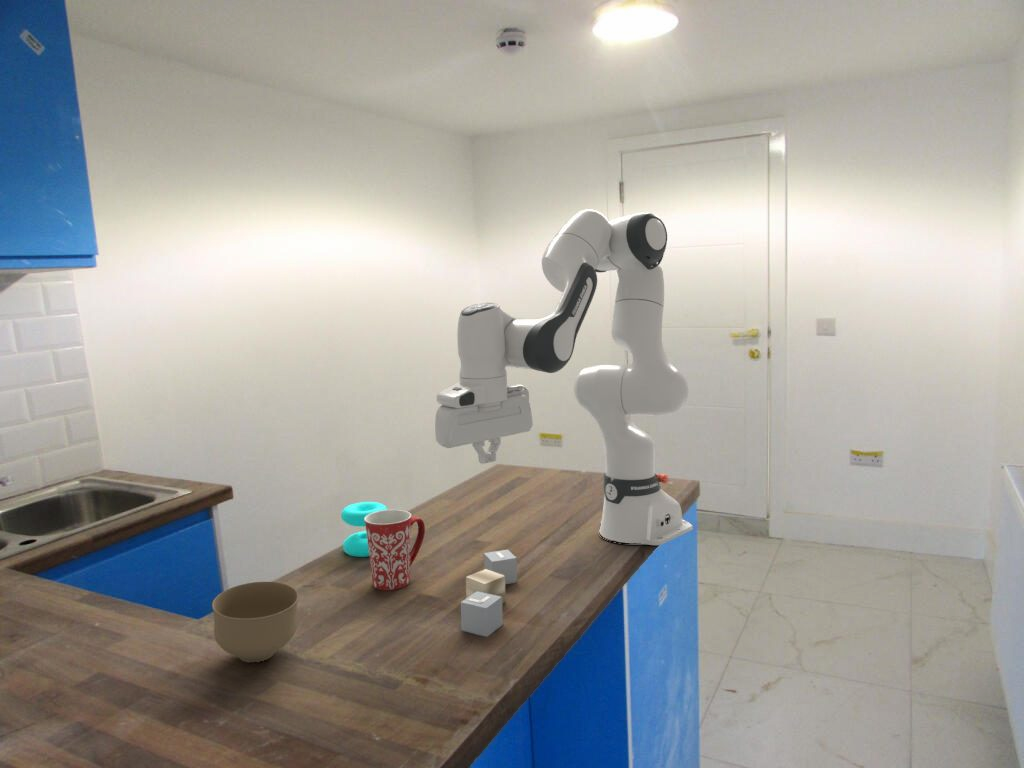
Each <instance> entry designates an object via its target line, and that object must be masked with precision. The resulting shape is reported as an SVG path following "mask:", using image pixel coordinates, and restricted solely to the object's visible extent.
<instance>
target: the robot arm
mask: <svg viewBox="0 0 1024 768" xmlns="http://www.w3.org/2000/svg"><path fill="white" fill-rule="evenodd" d="M666 228H667V227H666V225H665V223H664V221H663V220H662V219H661V217H659V216H658V215H657V214H656V213H652V212H636V213H634V214H632V215H625V216H621V217H617V218H613V219H612V220H610V221H609V219H608V218H607V217H606V216H605V215H604V214H603V213H602V212H600V211H597V210H596V209H583V210H580V211H578V212H576V214H574V215H573V216H572V217H571V218H570V219H569V220H568V221H566V222H565V224H564V225H563V226H562V227H561V228H560V229H559V230H558V232H557V233H556V234H555V235H554V237H553V238H552V240H551V241H550V242H549V243H548V245H547V247H546V248H545V250H544V253H543V255H542V258H541V267H542V268H541V269H542V272H543V274H544V276H545V279H546V280H547V281H548V282H549V284H550V285H551V286H552V287H554V289H556V290H558V291H559V292H560V293H562V294H561V296H560V298H559V300H558V302H557V304H556V307H555V308H554V311H553V312H552V313H551V314H549V315H547V316H544V317H541V318H522V317H521V318H520V317H516V316H513V315H511V314H508V313H507V312H505V311H503V309H501V307H500V305H499V304H498V303H494V302H482V303H475V304H472V305H469V306H466V307H465V308H463V309H462V310H461V311H460V314H459V316H458V322H457V335H456V336H457V337H456V338H457V352H458V353H457V354H458V357H459V360H460V370H459V381H457V382H456V383H454V384H453V385H451V386H448V387H447V388H446V389H444V390H442V391H440V392H438V393H437V395H436V403H437V404H439V405H440V406H439V407H437V409H436V413H435V427H434V428H435V429H434V430H435V434H434V435H435V441H436V442H437V444H438V445H439V446H440V447H443V448H445V449H452V448H455V447H462V446H466V445H471V444H472V447H473V449H474V451H476V453H477V455H478V462H479V463H480V464H482V465H483V464H484V465H485V464H488V463H493V462H496V461H497V451H498V449H499V447H500V445H501V440H502V439H501V438H503V437H504V438H505V437H509V436H513V435H517V434H518V435H519V434H523V433H527V432H530V431H531V429H532V427H533V424H534V423H533V415H532V414H533V413H532V408H531V404H530V392H529V390H528V389H527V388H526V386H523V385H522V384H516V385H513V386H508V379H507V374H508V373H507V369H506V367H507V368H514V369H524V370H534V371H538V372H543V373H548V374H553V373H557V372H559V371H561V370H562V369H564V368H565V366H566V365H567V364H568V363H569V361H570V360H571V358H572V356H573V353H574V349H575V344H576V340H577V336H578V334H579V332H580V329H581V327H582V324H583V322H584V320H585V317H586V315H587V312H588V311H589V309H590V306H591V303H592V301H593V298H594V295H595V293H596V290H597V286H598V275H597V273H606V272H609V271H616V272H617V276H618V284H617V289H616V292H615V299H614V306H613V315H612V322H611V323H612V324H611V333H610V334H611V337H612V340H613V341H614V343H615V344H616V345H617V346H618V347H620V348H621V349H623V350H624V351H626V352H628V353H631V357H632V363H631V364H597V365H591V366H588V367H583V368H582V370H580V371H579V373H578V374H577V376H576V378H575V382H574V389H573V390H574V391H573V392H574V395H575V398H576V401H577V403H578V404H579V405H580V406H581V408H583V409H584V410H585V411H586V412H587V413H589V415H590V416H591V417H592V418H593V420H594V421H595V423H596V425H597V427H598V428H599V431H600V433H601V437H602V441H603V446H604V447H603V448H604V461H605V463H604V465H605V472H604V473H603V481H602V482H603V491H604V497H603V506H602V507H603V508H602V515H601V520H600V523H601V526H600V525H599V530H598V533H599V532H600V534H601V535H602V536H603V537H605V538H608V539H611V540H615V541H618V542H625V543H641V544H640V545H650V546H661V545H664V544H667V543H668V542H670V541H672V540H674V539H676V538H678V537H680V536H682V535H684V534H686V533H688V532H690V531H692V530H693V529H694V528H693V525H692V524H691V523H690V522H689V521H687V520H685V519H683V512H682V508H681V504H680V502H678V501H677V500H676V499H675V498H673V497H672V496H671V495H669V494H668V493H666V492H665V491H664V490H662V489H661V485H660V483H662V484H667V483H668V482H669V476H668V474H663V473H659V474H656V471H655V470H656V468H655V466H656V461H655V459H656V458H655V457H656V455H655V453H656V446H655V442H654V440H653V439H652V437H651V435H649V434H648V433H647V432H646V431H644V430H642V429H640V428H639V427H638V426H637V425H636V424H635V423H634V421H633V420H632V416H631V415H640V416H652V417H653V416H665V415H672V414H678V413H679V412H680V411H681V409H683V407H684V406H685V404H686V402H687V400H688V397H689V385H688V382H687V379H686V377H685V376H684V374H683V373H682V372H681V371H680V370H679V369H678V368H676V367H675V366H674V365H673V363H672V362H671V361H670V359H669V358H668V356H667V355H666V352H665V349H664V345H663V340H662V339H663V337H662V336H663V334H662V333H663V314H664V307H665V306H664V305H665V279H664V270H663V269H662V267H661V265H660V264H661V263H662V260H663V258H664V255H665V251H666V249H667V244H668V232H667V229H666ZM486 441H488V443H490V444H489V447H488V450H487V451H485V450H484V448H483V447H485V444H486V443H485V442H486Z"/></svg>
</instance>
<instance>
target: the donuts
mask: <svg viewBox="0 0 1024 768" xmlns="http://www.w3.org/2000/svg"><path fill="white" fill-rule="evenodd" d="M382 510H388V508H387V506H386V505H385V504H383V503H381V502H377V501H360V502H356V503H351V504H349V505H347V506H345V507H344V508H343V509H342V511H341V513H340V516H341V519H342V521H343V522H344V523H345V524H347V525H349V526H352V527H359V528H360V527H363V528H365V527H366V524H365V521H364V518H365V517H366V516H367V515H369V514H371V513H374V512H377V511H382ZM342 544H343V545H342V549H343V551H344V552H345V554H347V555H348V556H351V557H355V558H356V557H357V558H367V557H369V549H368V540H367V532H366V530H363V531H359V532H358V531H357V532H355V533H352V534H350V535H349V536H347V537H346V538H345V540H344V541H343V543H342Z"/></svg>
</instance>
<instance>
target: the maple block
mask: <svg viewBox="0 0 1024 768" xmlns="http://www.w3.org/2000/svg"><path fill="white" fill-rule="evenodd" d="M477 591H478V592H483V593H487V594H492V595H496V596H501V597H502V604H504V603H506V584H505V576H504V575H501V574H499V573H496V572H493V571H490V570H488V569H481V570H480V571H477V572H475V573H472V574H469V575H467V576H465V592H466V595H465V596H466V598H468V597H469V596H471V595H472V594H474V593H475V592H477ZM466 598H465V599H466Z"/></svg>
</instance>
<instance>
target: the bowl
mask: <svg viewBox="0 0 1024 768" xmlns="http://www.w3.org/2000/svg"><path fill="white" fill-rule="evenodd" d="M299 598H300V596H299V592H298V591H297V590H296V588H294V587H293V586H291V585H288V584H286V583H282V582H276V581H254V582H247V583H243V584H239V585H235V586H232V587H230V588H228V589H226V590H223V591H222V592H221V593H219V594H217V596H215V597H214V599H213V601H212V602H211V603H212V604H211V608H212V611H213V617H214V618H213V619H214V621H213V622H214V626H213V627H214V628H213V629H214V630H213V633H214V638H215V642H216V643H217V645H218V646H220V648H222V650H223V651H225V653H228V654H229V655H231V656H233V657H236V658H238V659H240V660H241V661H242V662H245V663H249V662H257V663H261V662H260V661H262V662H264V660H265V661H267V660H269V659H271V658H272V657H273V656H274V655H275V654H276V653H277V652H278V651H280V650H281V649H282V648H283V647H285V646H286V645H288V643H289V642H290V640H292V638H293V636H295V633H296V631H297V627H298V602H299ZM266 659H267V660H266Z"/></svg>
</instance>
